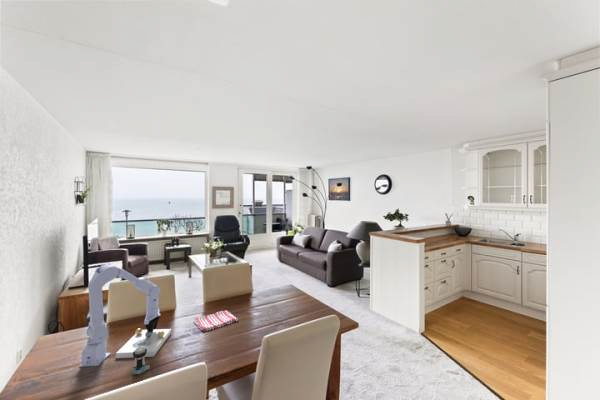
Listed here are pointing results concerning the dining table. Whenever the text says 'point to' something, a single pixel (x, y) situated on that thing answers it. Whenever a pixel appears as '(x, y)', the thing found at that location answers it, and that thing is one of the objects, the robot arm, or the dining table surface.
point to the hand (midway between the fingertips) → (152, 331)
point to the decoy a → (138, 331)
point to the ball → (148, 334)
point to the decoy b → (160, 334)
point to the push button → (139, 360)
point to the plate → (144, 343)
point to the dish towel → (214, 320)
